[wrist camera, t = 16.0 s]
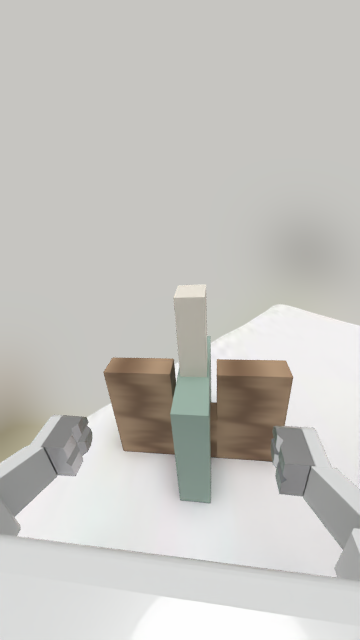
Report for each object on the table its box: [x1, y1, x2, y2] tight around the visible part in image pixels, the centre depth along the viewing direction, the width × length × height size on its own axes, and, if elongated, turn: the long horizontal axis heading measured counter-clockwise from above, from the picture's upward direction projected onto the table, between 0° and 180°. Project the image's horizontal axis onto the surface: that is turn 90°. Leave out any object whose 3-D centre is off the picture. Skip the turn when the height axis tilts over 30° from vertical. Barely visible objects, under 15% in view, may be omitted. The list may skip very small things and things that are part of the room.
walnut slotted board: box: [104, 358, 293, 461], centre depth 27 cm, size 18×2×12 cm, turn 83°
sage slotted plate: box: [170, 285, 211, 503], centre depth 25 cm, size 3×12×20 cm, turn 173°
